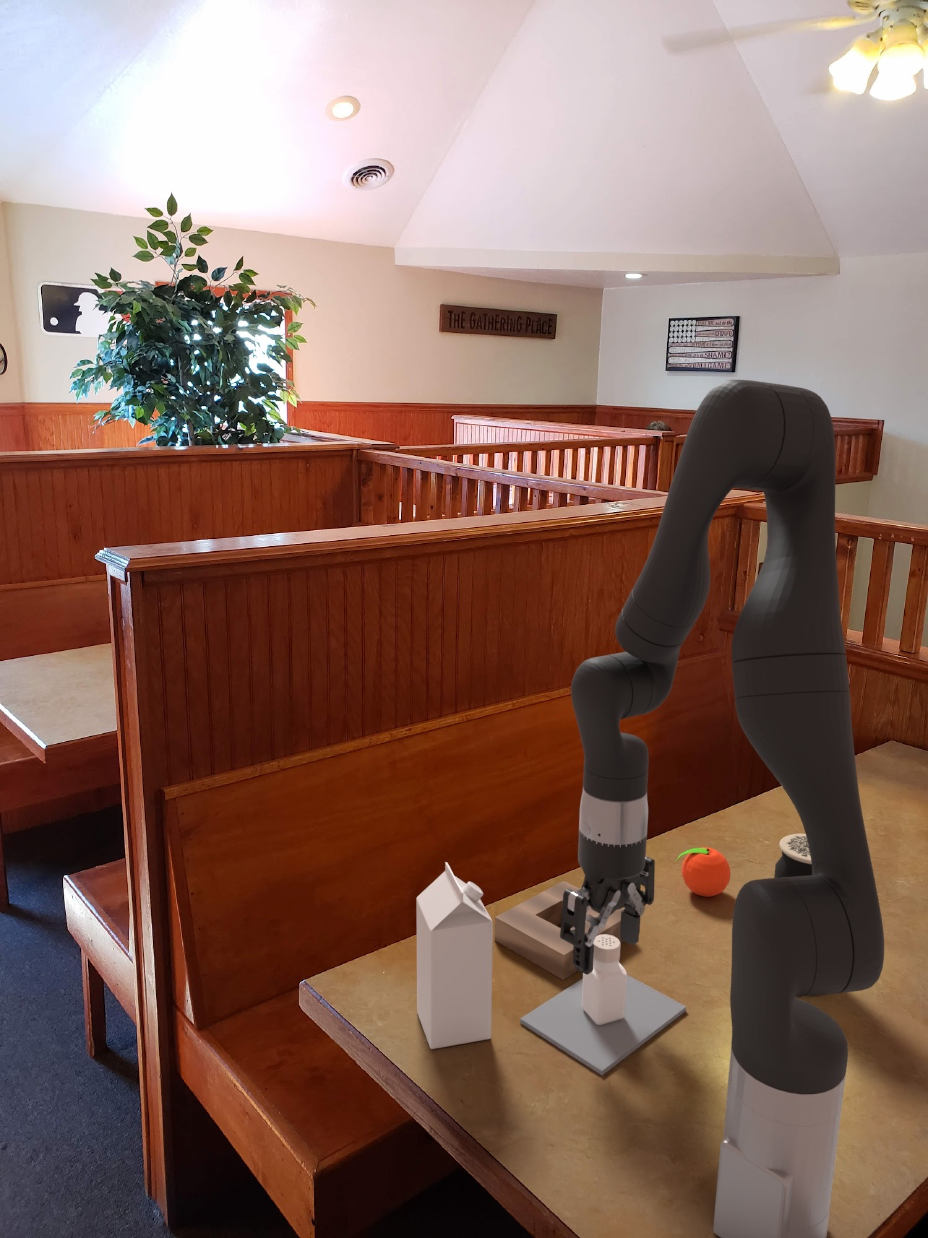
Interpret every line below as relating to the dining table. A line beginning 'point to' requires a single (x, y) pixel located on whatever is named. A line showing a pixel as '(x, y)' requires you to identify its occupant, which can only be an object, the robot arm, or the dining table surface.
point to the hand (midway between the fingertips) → (606, 955)
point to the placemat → (609, 1041)
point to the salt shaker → (605, 982)
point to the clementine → (705, 871)
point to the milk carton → (454, 962)
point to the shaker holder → (546, 930)
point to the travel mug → (794, 857)
